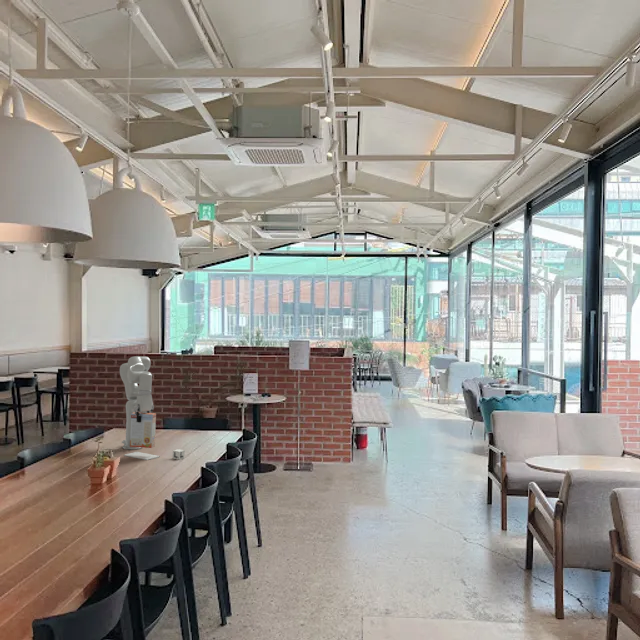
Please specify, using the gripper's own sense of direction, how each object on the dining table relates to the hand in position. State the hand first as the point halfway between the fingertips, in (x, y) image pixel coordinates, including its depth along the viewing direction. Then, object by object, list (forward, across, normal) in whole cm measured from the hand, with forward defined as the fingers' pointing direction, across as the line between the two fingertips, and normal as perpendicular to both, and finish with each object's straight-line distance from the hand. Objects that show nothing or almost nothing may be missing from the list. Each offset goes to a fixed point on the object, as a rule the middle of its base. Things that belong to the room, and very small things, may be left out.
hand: (143, 421), depth 368 cm
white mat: (+22, 0, 0) cm, 22 cm away
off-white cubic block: (+22, -10, +20) cm, 32 cm away
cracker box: (+16, 0, 0) cm, 16 cm away
